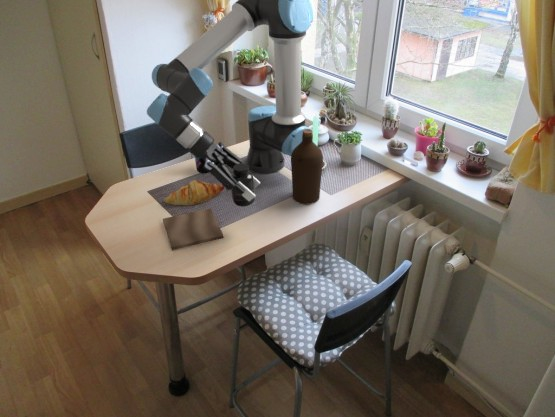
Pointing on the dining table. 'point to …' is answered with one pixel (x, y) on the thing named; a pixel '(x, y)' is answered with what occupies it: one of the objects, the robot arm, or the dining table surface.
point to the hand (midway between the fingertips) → (254, 191)
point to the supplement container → (200, 165)
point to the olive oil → (306, 170)
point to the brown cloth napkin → (192, 229)
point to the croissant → (194, 193)
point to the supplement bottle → (246, 178)
